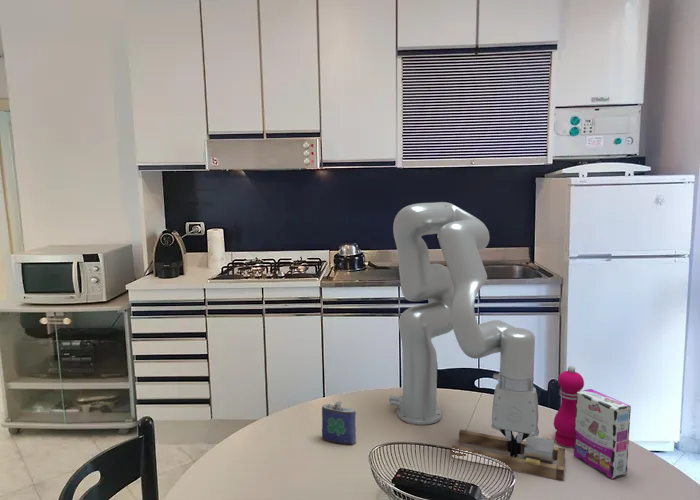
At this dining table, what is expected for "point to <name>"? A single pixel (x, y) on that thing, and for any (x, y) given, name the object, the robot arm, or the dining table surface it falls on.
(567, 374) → the pepper mill
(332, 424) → the flask
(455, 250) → the robot arm
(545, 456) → the block
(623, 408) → the candy bar box
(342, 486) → the dining table surface
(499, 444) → the track
